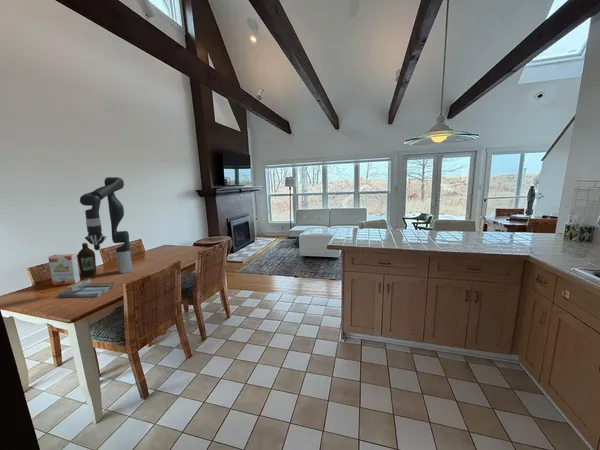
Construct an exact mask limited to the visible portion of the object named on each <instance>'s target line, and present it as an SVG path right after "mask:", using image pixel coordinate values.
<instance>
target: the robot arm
mask: <svg viewBox="0 0 600 450" xmlns="http://www.w3.org/2000/svg"><path fill="white" fill-rule="evenodd" d="M124 185H125V182H124V179H123V178H121V177H116V176H115V177H113V176H109V177H108V176H107V177H105V178H104V186H101V187H98V188H96V189H94V190H93V191H90V192H88V193H84V194H82V195H81V196H80V198H79V202H80V204H81V205H82V206H86V207H87V206H88V207H89V206H90V207H91V208H88V209H85V210H84V211H85V212H84V214H85V224H86V231H87V233H88V234H87V236H85V237H84V239H85V240H86V242H87V243H89V244H90V245H93V249H94V250H95V251H99V250H100V249H101V246H100V245H101V244H103V243H104V241H105V240H106V238H107V236H106V235H105V236H104V234H103V233H102V231H103V230H102V222H101V217H100V206H101V203H102V202H101V201H102V200H103V199H104V198H106V197H107V202H108V211H109V218H110V227H111V239H112V242H113V244H122V243H123V244H122V245H121V246H118V247H116V249H115V252H116V253H115V255H116V262H117V263H116V264H117V271H118V273H119V274H126V273H130V272H132V271H133V261H132V260H133V259H132V254H131V248H130V247H131V246H130V235H129V232H128V231H127V230H121V231H118V226H119V224H120V222H121V221H122V220H123V218H124V215H125V210H124V206H123V204H122V203H121V201H120V200H119V199H118V197H117V196H116V194H115V192H117V191H120V190H123V188H124V187H125V186H124Z"/></svg>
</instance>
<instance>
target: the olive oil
mask: <svg viewBox="0 0 600 450" xmlns="http://www.w3.org/2000/svg"><path fill="white" fill-rule="evenodd" d="M81 246H82V248H81V249H80V250H79V252H78V253H77V254H76V255H77V262H78V268H79V273H80V277H81V276H82V277H88V276H93V275H96V274H97V264H96V263H97V262H96V253H95V251H94V250H93V249H91V248H89V245H88V242H82V243H81Z"/></svg>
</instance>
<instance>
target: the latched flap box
mask: <svg viewBox="0 0 600 450" xmlns="http://www.w3.org/2000/svg"><path fill="white" fill-rule="evenodd" d="M116 283H117V282H116V281H91V283H90V284H89V285H87V286H85V287H83V288H82V289H80V290H78V291H72V288H71V287H72V286H74V285H76V284H77V283H76V284H69V285H67V286H66V288H65V289H66V290H64V291H62V292H60V293H58V294H57V297H58V298H93V297H94V298H95V297H96V298H98V297H100V296H102V295H103V294H105V293H107V292H108V291H110V290H112V289H114V288H115V287H116V286H117V284H116Z"/></svg>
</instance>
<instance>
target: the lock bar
mask: <svg viewBox="0 0 600 450" xmlns="http://www.w3.org/2000/svg"><path fill="white" fill-rule="evenodd" d="M91 282H92V280H91V278H90V277H86V278H85V279H83V280H80V282H78V283H76V285H75V284H73V285H74V286H72V287H71V288H72V291H78V290H80V289H82V288H83V287H85V286H87V285H89V284H90V283H91Z"/></svg>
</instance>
